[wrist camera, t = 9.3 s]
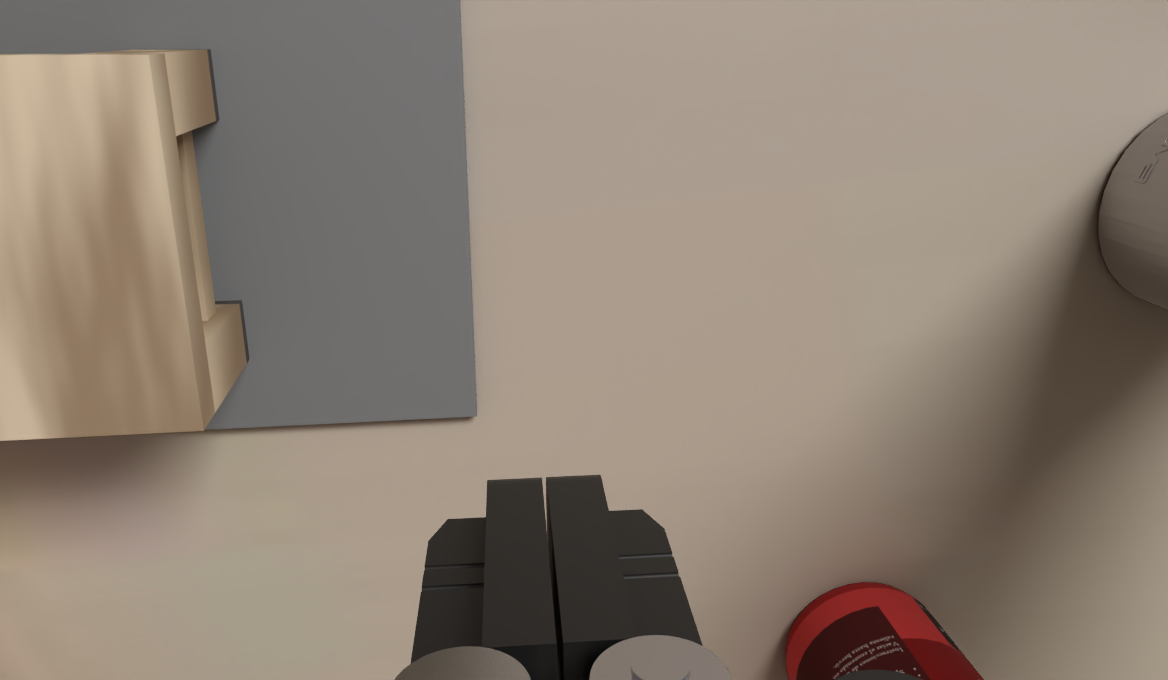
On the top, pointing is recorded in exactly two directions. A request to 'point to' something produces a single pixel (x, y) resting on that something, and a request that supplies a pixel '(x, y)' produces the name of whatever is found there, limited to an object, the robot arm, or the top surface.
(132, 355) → the stool
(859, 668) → the canned food
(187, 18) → the mat
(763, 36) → the top surface
